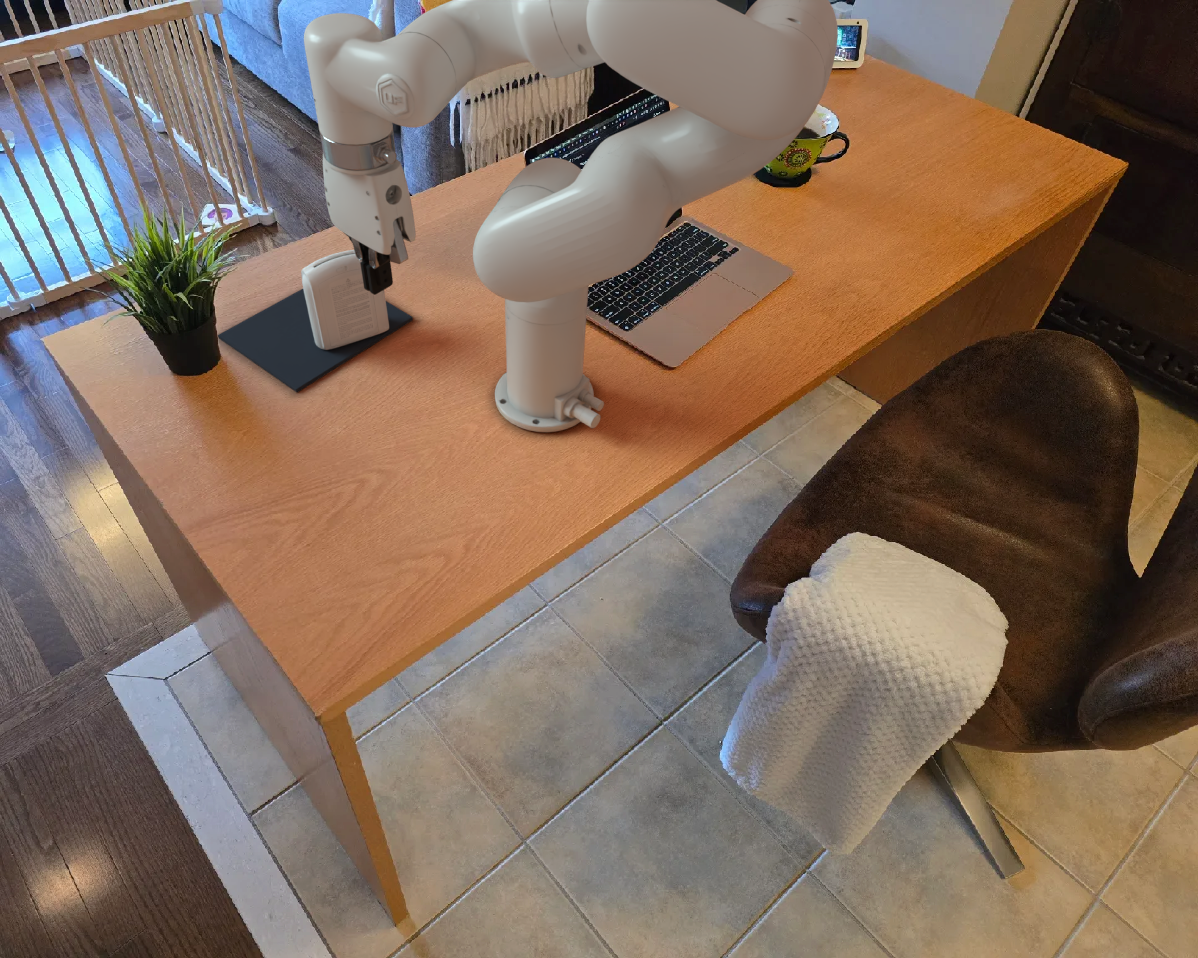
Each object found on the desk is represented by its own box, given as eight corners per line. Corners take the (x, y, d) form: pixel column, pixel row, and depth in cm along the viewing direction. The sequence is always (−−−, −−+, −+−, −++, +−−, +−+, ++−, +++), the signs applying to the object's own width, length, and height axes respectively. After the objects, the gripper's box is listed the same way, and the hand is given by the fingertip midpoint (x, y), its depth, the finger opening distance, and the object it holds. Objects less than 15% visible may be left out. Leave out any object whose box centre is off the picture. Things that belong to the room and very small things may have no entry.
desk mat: (413, 320, 121) (412, 316, 121) (296, 392, 110) (295, 389, 110) (336, 273, 127) (335, 270, 127) (218, 338, 116) (217, 334, 116)
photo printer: (381, 314, 121) (369, 236, 112) (395, 331, 118) (383, 253, 109) (310, 337, 117) (291, 258, 107) (322, 355, 114) (304, 276, 105)
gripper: (434, 157, 92) (445, 299, 106) (338, 109, 98) (360, 250, 111) (380, 184, 88) (399, 328, 102) (284, 132, 93) (313, 275, 107)
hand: (378, 287), depth 106 cm, fingers closed
